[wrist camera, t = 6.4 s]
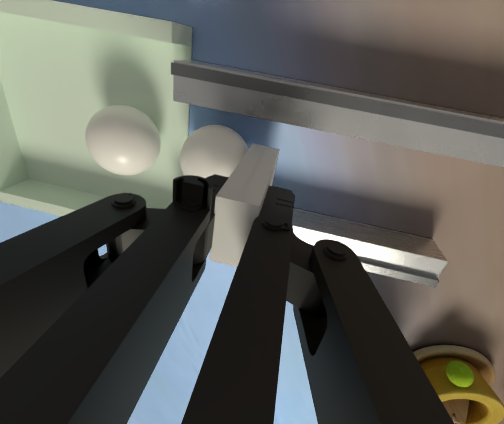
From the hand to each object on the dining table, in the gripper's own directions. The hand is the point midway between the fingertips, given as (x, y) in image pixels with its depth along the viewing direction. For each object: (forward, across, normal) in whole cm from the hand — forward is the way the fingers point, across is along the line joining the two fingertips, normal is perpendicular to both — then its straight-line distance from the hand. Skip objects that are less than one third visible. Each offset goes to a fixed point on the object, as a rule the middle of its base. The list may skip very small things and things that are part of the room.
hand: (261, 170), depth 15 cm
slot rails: (+2, +3, 0) cm, 4 cm away
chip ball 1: (-1, -10, 0) cm, 10 cm away
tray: (+2, -11, 0) cm, 12 cm away
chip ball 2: (+1, -2, 0) cm, 2 cm away
